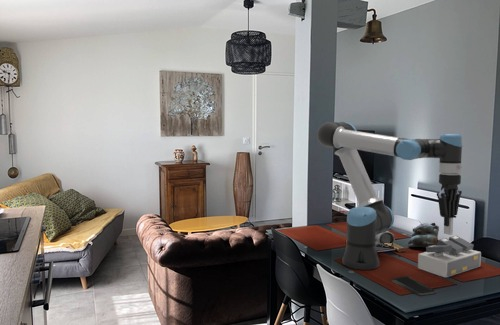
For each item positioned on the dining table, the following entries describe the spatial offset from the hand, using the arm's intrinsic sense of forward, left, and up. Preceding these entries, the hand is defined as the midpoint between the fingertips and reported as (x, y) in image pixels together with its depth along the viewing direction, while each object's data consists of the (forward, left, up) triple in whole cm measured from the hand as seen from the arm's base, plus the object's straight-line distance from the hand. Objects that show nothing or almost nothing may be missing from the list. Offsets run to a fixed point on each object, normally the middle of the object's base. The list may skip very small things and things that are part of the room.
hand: (448, 233), depth 152 cm
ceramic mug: (+8, +39, -16) cm, 43 cm away
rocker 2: (+7, +4, -7) cm, 11 cm away
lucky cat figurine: (+22, +26, -16) cm, 38 cm away
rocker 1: (0, +4, -7) cm, 8 cm away
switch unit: (+7, +4, -16) cm, 18 cm away
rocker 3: (+15, +4, -7) cm, 17 cm away
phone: (-23, -1, -16) cm, 28 cm away
